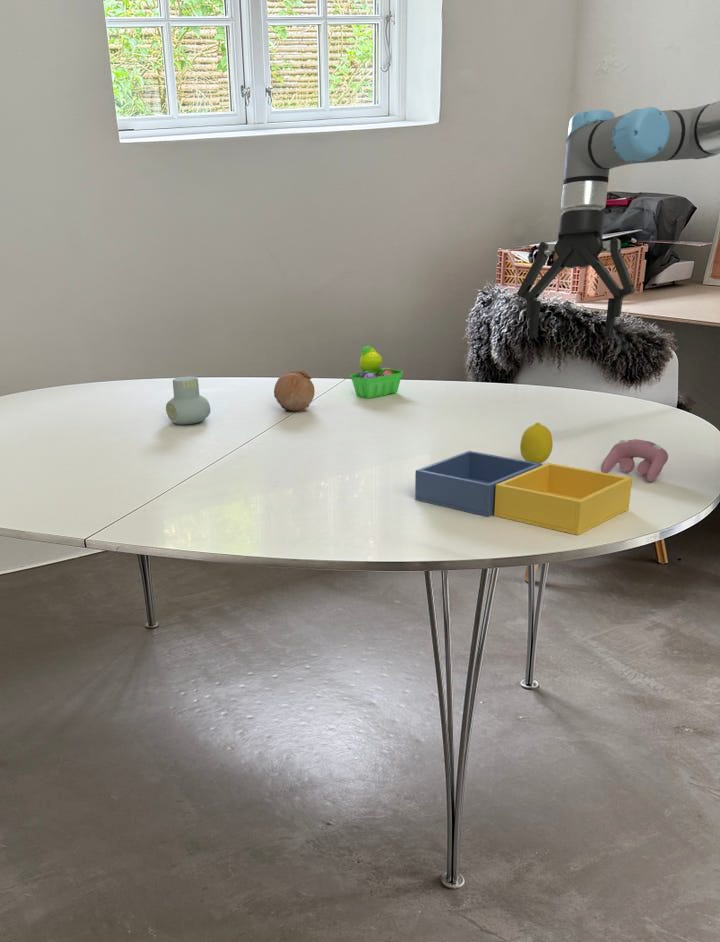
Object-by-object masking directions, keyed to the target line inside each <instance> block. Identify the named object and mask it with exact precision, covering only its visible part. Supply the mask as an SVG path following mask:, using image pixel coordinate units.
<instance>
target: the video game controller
mask: <svg viewBox="0 0 720 942" xmlns="http://www.w3.org/2000/svg"><path fill="white" fill-rule="evenodd" d="M634 458H638V459H643V460H642V461H640V462H639V463H638V464H637V467H636V462H635V460H634ZM668 459H669V454H668V451H667V450H666V449H664V448H663V447H661V446H660V444H657V443H655V442H652V441H649V440H644V439H637V438H636V439H635V438H633V439H629V440H628V439H625V440H624V439H621V440H619V441H618V443H617V442H616V443H614V445H613V446H612V448H611V449H610V451H609V452H608V453H607V455H606V456H605V458H604V459H603V461H602V462H601V467H600V472H602V473H608V474H609V473H610V472H611V471H612V470H613V469H614V467H616V465H617V464H619V469H620V471H621V472H623V473H631V472H633V471H634V470H635V468H636V473H638V474H639V475H640V476H643V477H646V480H647V482H649V483H652V482H654V481H655V480H656V479H658V478H659V476H660V474H661V472H662V470H663V468H664V466H665V465H666V463H667V462H668Z"/></svg>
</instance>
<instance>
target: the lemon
mask: <svg viewBox="0 0 720 942" xmlns="http://www.w3.org/2000/svg"><path fill="white" fill-rule="evenodd" d="M553 445H554V443H553V436H552V433H551V430H550V429H549V427H547V426H546V425H543V424H541V423H540V422H535V423H534V424H532V425H530V426H528V427H527V428H525V430H524V431H523V434H522V435H521V439H520V444H519V450H520V456H521V457H522V458H523V460H524V461H529V462H535V463H540V464H543V463H544V462H546V461H547V460H548V459H549V457H550V456H551V454H552V452H553V451H552V450H553Z"/></svg>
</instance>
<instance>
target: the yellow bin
mask: <svg viewBox="0 0 720 942" xmlns="http://www.w3.org/2000/svg"><path fill="white" fill-rule="evenodd" d="M632 484H633V477H630V476H624V475H618V474H613V473H609V472H608V473H602V472H601V471H595V470H590V469H585V468H579V467H573V466H568V465H564V464H563V465H562V464H558V463H557V464H556V463H552V462H547V463H545V464H542V466H540V467H537V468H535V469H532V470H530V471H527V472H525V473H523V474H520V475H518V476H515V477H513V478H511V479H508V480H506V481H503V482H501V483H498V484H496V489H495V509H494V514H493V516H494V517H497V518H502V519H506V520H511V521H516V522H519V523H524V524H528V525H532V526H537V527H542V528H545V529H550V530H554V531H558V532H562V533H567V534H572V535H575V536H579V535H581V534H583V533H586V532H587V531H590V530H591V529H593V528H594V527H597V526H599V525H601V524H603V523H604V522H607V521H609V520H610V519H613V518H615V517H617V516H618V515H621V514H623V513H625V512H627V511H629V509H630V501H631V493H632Z"/></svg>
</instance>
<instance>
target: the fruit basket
mask: <svg viewBox="0 0 720 942" xmlns="http://www.w3.org/2000/svg"><path fill="white" fill-rule="evenodd" d="M360 354H361V355H360V359H359V367H360V370H362V371H361V372H357V373H353V374H350V375H349V378H350V379H351V383H352V385H353V388H354V392H355V396H357V397H360V398H364V399H365V398H366V399H372V398H377V397H382V396H386V395H390V393H391V394H395V393H396V392H397V393H398V391H399V386H400V383H401V379H402V377H403V375H404V371H403V370H398V369H393V368H388V367H381V364H382V362H383V357H382V356H381V354H380V353H378V352H377V351H376V350H375V348H373V347H372V346H370V345H366V346H363V347H362V349H361V353H360Z"/></svg>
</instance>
